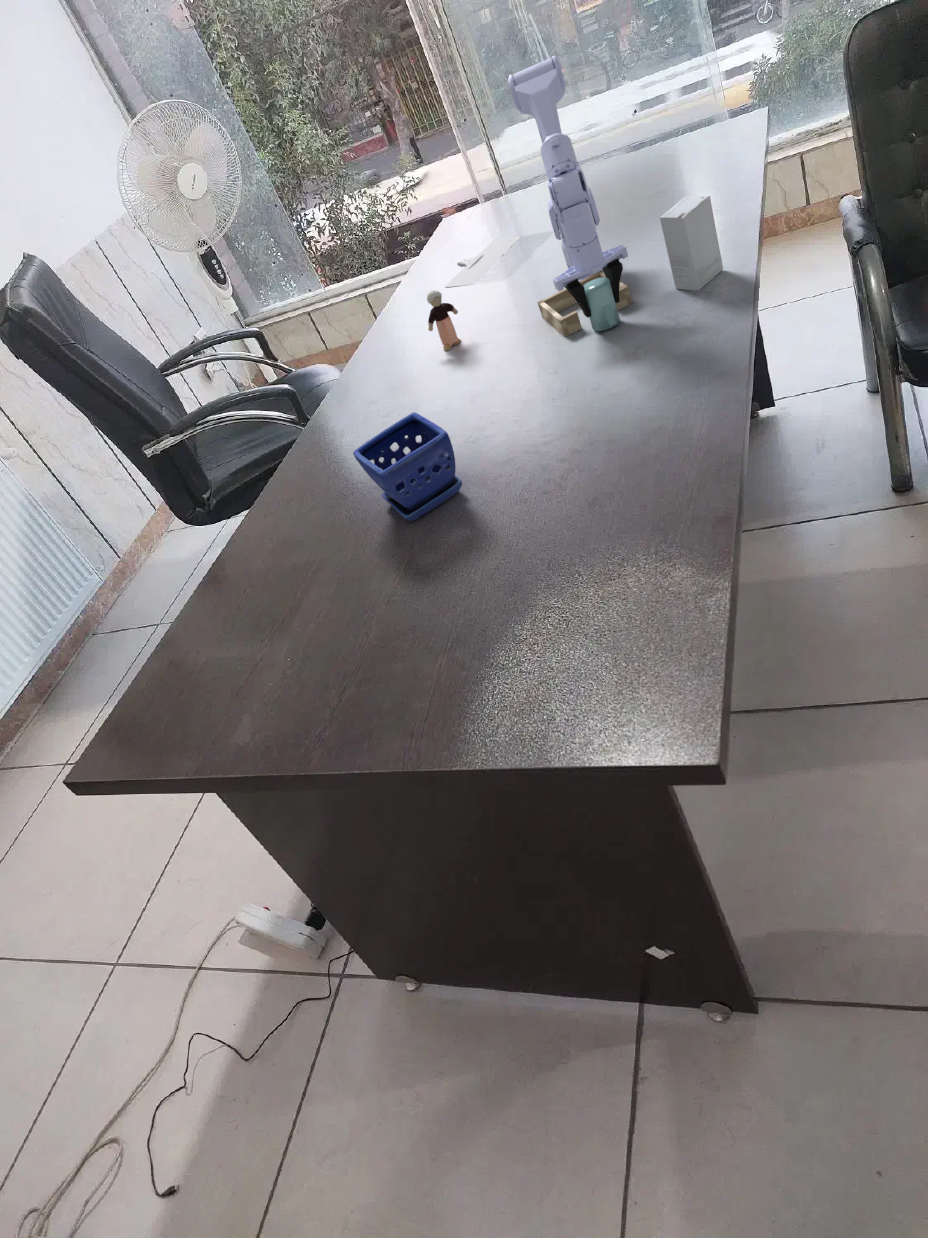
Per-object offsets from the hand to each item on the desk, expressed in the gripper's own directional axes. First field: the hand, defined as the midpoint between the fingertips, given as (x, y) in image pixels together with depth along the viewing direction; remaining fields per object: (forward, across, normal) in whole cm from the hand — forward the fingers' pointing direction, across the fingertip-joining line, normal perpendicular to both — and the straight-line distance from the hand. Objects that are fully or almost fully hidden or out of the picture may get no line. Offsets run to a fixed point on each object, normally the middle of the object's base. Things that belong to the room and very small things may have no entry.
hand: (601, 308), depth 167 cm
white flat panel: (+4, -4, +64) cm, 64 cm away
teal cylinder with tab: (+3, 0, -1) cm, 3 cm away
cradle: (+4, 0, +10) cm, 11 cm away
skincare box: (+4, +20, 0) cm, 20 cm away
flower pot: (+4, -47, -28) cm, 55 cm away
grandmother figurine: (+4, -26, +26) cm, 37 cm away
